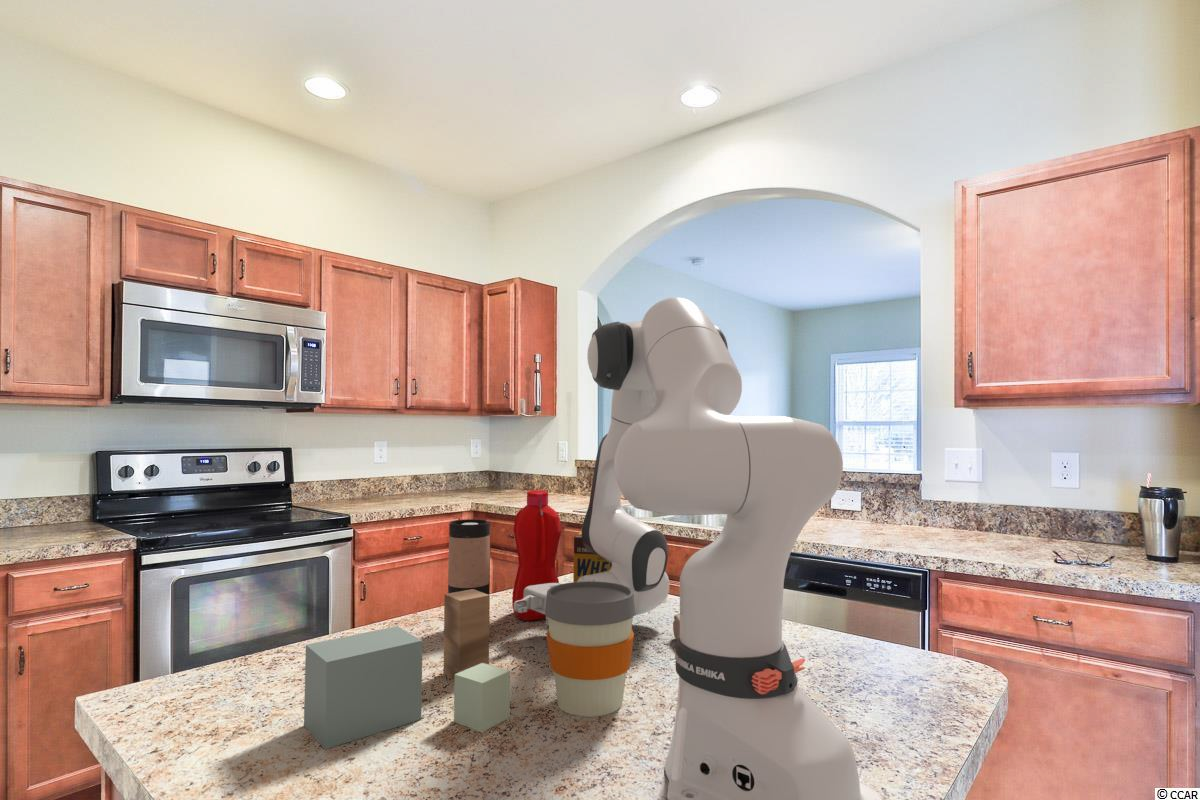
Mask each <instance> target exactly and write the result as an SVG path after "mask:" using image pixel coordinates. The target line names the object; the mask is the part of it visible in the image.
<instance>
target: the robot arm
mask: <svg viewBox="0 0 1200 800" xmlns="http://www.w3.org/2000/svg"><path fill="white" fill-rule="evenodd" d="M728 348H729V347H728V342H727V338H726V336H725V334H724V333H723V331H722V330H721V328H720V327H718V326H717V325H714V323H713V322H712V321H711V320H710V318H709V317H708V316H707V315H706V313H705V312H704V311H703V310H702V309H701V308H700V307H699V305H697V304H695V302H693V301H691V300H689V299H686V298H682V297H668V298H664V299H662V300H660V301H658V302H655V304H653V305H652V306H651V307H650V308H649V309H648V310H647V312H646V313H645V314H644V316H643V318H642V320H635V321H629V322H620V321H613V322H608V323H605V324H602V325H599V326H598V327H597V328H596V329H595V331H593V332H592V334H591V339H590V341H589V344H588V348H587V354H586V355H587V365H588V369H589V370H590V373H591V377H592V379H593V381H594V382H595V383H596V385H598V386H599V387H600V388H602V389H607V390H612V398H611V407H610V409H611V413H610V425H609V429H608V431H607V433H606V434H605V435H604V436H603V437H602V439H601V440H600V443H599V445H598V448H597V453H596V457H595V464H594V470H593V471H594V472H593V474H592V475H593V477H592V481H591V482H592V484H591V490H590V494H589V495H590V496H589V503H588V506H587V510H586V514H585V516H584V519H583V522H582V526H581V531H582V541H583V544H584V546H585V547H586V549H587V550H589V551H590V552H592V553H594V554H596V555H598V556H600V557H602V558H604V559H606V560H607V561H609V562H610V563H612V567H611V569H610V570H609V571H606V572H601V573H596V574H591V575H585V576H582V577H581V578H579V579H578V581H577V582H585V581H597V582H609V583H616V584H621V585H624V586H627V587H629V588H631V589H632V590H633V591H634V600H635V610H636V614H635V615H634V616H638V615H639V616H640V615H642V614H645V613H648V612H651V611H652V610H654V609H656V608H657V607H659V606H660V605H662V604H663V603H664V602H665V600H666V599H667V597H668V596H669V592H670V579H669V578H670V577H669V576H668V574H667V572H666V568H667V565H668V564H667V563H668V557H669V556H668V555H669V551H668V550H669V549H668V548H669V547H668V542H667V539H666V537H665V535H664V534H663V533H662V532H661V531H659V530H658V529H656V528H654V527H653V526H651V525H650V524H647V522H644V521H642V520H640V519H637V518H636V517H635V516H633V515H631V514H629V513H628V512H627V511H626V510H625V509H624V507H623V506H622V503H621V499H622V495H623V496H624V498H625V499H626V500H627V502H628V503H629V504H630V505H631V506H633V508H635V509H638V510H643V511H648V512H653V513H658V514H665V515H670V516H675V517H676V516H703V515H704V516H705V515H706V516H710V515H712V516H713V515H726V519H725V523H724V526H723V528H722V529H721V531H720V533H719V534H718V535H717V537H716V538H715V539H714V540H713V541H712V542H710V543H709V544H708V545H706V546H704V547H703V548H701V549H699V550H697V551H696V552H695V553H693V554H692V555H690V557H689V558H688V559H687V561H686V562H685V564H684V566H683V568H682V569H681V573H680V576H679V614H680V635H679V636H678V637H677V639H675V640H676V641H675V642H676V643H675V654H674V659H675V672H676V674H677V675H678V687H677V700H676V708H675V717H674V725H673V731H672V736H671V737H672V738H671V742H670V747H669V750H668V753H667V755H666V756H667V757H666V759H665V763H664V770H665V774H666V776H667V779H668V781H669V782H668V785H667V793H666V796H667V797H666V798H667V800H883V799H884V798H883V795H882V794H881V793H880V792H879V791H876V790H875V789H873V788H872V787H870V786H868V785H867V784H865V783H863V782H861V781H860V777H859V769H858V766H857V759H856V755H855V752H854V748H853V746H852V743H851V742H850V739H848V737H847V735H845V733H844V732H843V731H841V729H840V728H839V727H837V725H836V724H835V723H834V722H832V720H831V719H830V718H829V717H828V716H827V715H826V714H825V713H824V712H823V711H822V710H821V708H819V706H818V705H817V704H816V703H815V702H814V701H813V700H812V699H811V698H810V696H809V695H808V694H807V693H806V692H805V691H804V690H803V689H802V688H801V687H800V686H799V684H798V682H799V680H798V678H797V675H796V673H797V674H798V673H799V672H801V671H804V670H805V669H806V667H805V666H803V664H804V663H805V661H806V659H805V658H802V657H801V658H800V659H797V660H795V661H792V660H791V659H792V658H791V657H790V655H789V651H788V648H787V646H786V644H785V642H784V641H783V600H784V587H785V586H784V583H785V578H786V577H785V575H786V570H787V565H788V561H789V559H790V556H791V553H792V550H793V549H794V545H795V543H796V542H797V540H798V538H799V536H800V534H801V532H802V531H803V529H804V528H805V525H807V523H808V522H809V520H810V519H811V518H812V517H813V516H814V515H815V514H816V512H817V511H819V510H820V509H821V508H822V507H824V506H825V505H826V504H828V503H829V501H830V500H832V498H833V497H834V495H835V494H836V493H837V491H838V489H839V486H840V484H841V480H842V477H843V472H844V471H843V470H844V465H843V464H844V463H843V461H844V460H843V455H842V452H841V448H840V446H839V444H838V441H837V439H836V438H835V436H834V434H832V432H831V431H830V430H829V428H827V427H826V426H825V425H823V424H820V423H818V422H817V423H816V422H812V421H809V420H805V419H800V418H795V417H790V416H785V415H731V414H732V413H733V411H734V410H735V409H736V408H737V405H738V404H739V402H740V400H741V396H742V391H743V390H742V389H743V388H742V387H743V386H742V385H743V382H742V376H741V373H740V372H739V369H738V368H737V366H736V364H735V362H734V360H733V357H732V355H731V354H730V352H729V349H728ZM560 584H561V582H559V583H546V584H538V585H531V586H527V587H526V588H525V589H524V598H523V599H522V600H518V601H515V602H514V611H516V612H518V613H522V612H527V609H532V610H535V611H537V612H540V613H542V614H545V607H546V598H547V591H548V590H549V589H550V588H552V587H554V586H557V585H560ZM514 611H513V612H514ZM634 616H633V617H634ZM545 623H546V624H547V626H549V624H548V617H547V616H546V619H545ZM800 666H801V667H800Z"/></svg>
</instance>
